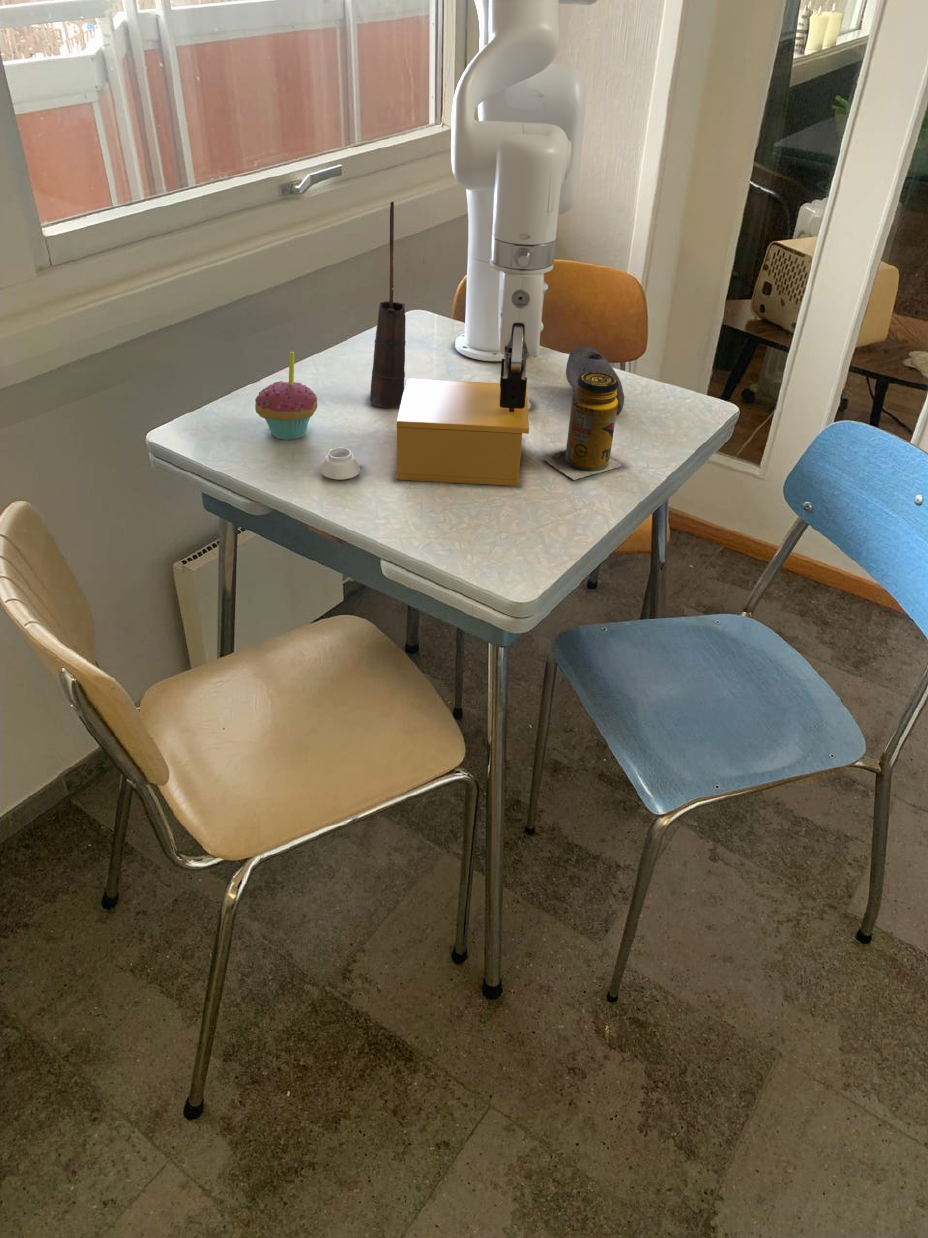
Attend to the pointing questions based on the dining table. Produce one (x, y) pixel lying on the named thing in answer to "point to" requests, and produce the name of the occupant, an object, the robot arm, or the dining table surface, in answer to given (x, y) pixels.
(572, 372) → the perforated stone tool
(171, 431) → the dining table surface
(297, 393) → the cupcake
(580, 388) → the condiment
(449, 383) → the lid
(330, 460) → the white jar
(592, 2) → the robot arm
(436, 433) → the open wooden box
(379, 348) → the butter churn
